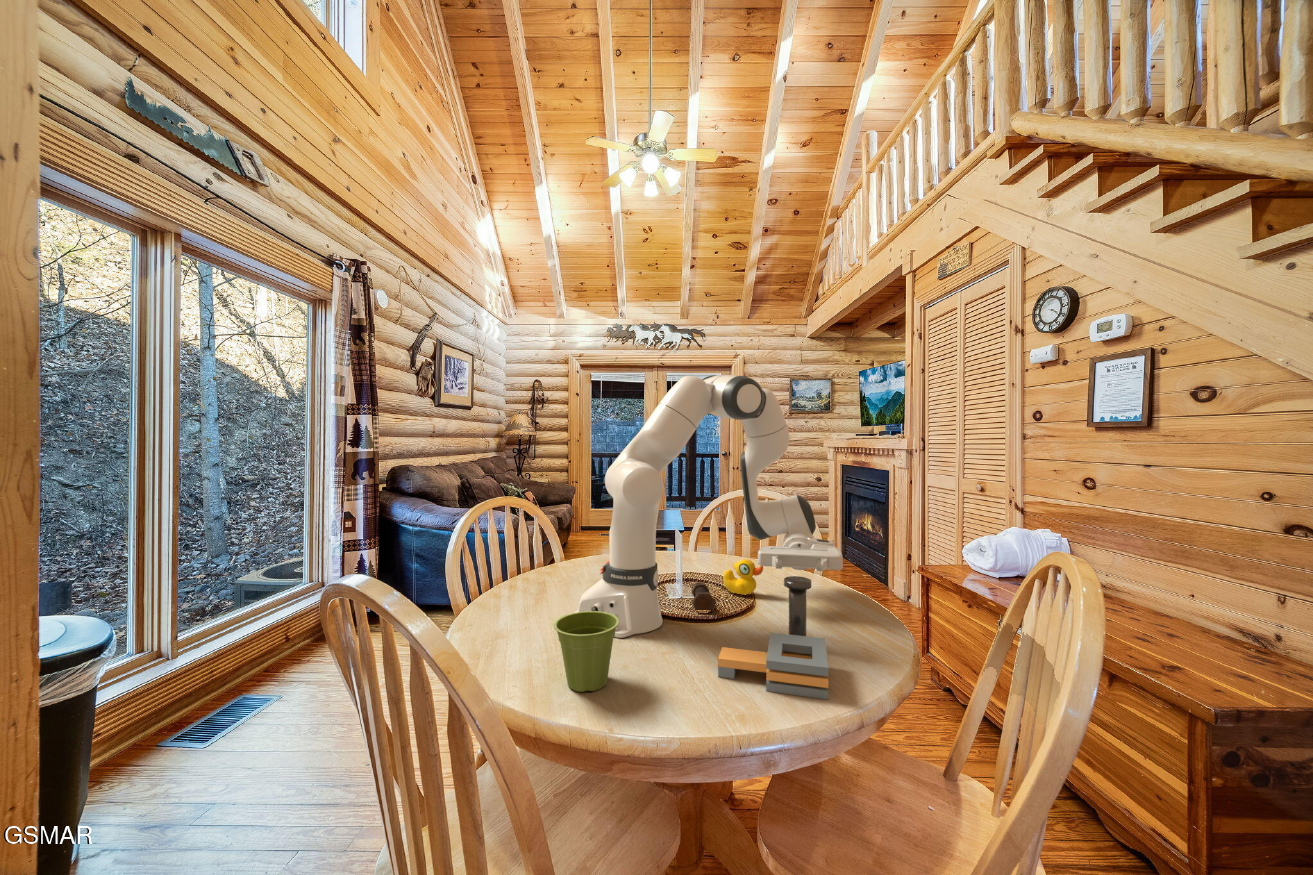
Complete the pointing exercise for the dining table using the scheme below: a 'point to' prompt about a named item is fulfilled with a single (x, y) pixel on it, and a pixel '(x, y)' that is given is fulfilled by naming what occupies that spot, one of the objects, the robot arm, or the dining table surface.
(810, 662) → the bracket
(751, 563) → the duckling
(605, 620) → the plant pot
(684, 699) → the dining table surface
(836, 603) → the dining table surface
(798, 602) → the pin
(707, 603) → the bolt
